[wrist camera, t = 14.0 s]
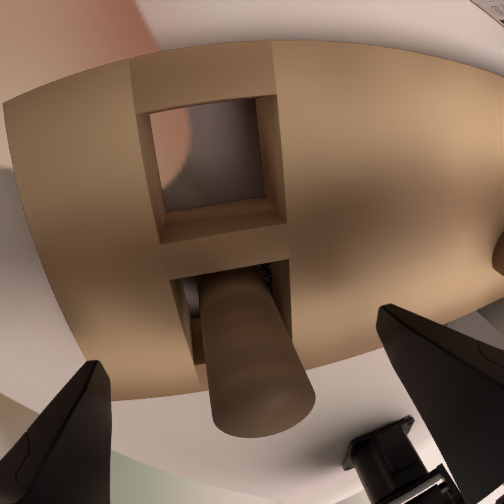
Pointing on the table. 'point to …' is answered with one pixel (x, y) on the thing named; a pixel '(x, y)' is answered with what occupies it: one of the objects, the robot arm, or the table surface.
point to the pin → (250, 356)
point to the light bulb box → (493, 8)
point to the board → (265, 199)
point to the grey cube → (483, 324)
